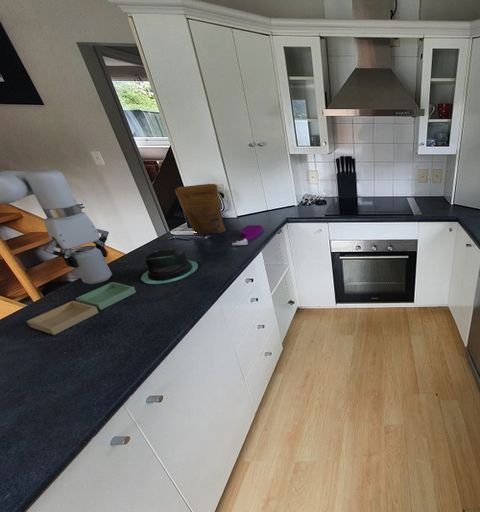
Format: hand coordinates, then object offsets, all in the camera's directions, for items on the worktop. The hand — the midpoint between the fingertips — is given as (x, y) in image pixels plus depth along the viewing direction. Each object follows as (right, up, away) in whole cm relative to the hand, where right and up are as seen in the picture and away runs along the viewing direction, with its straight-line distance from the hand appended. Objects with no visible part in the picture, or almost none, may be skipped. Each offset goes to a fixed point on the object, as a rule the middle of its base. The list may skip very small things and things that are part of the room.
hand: (89, 261), depth 93 cm
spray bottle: (+25, +12, +60) cm, 66 cm away
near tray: (-3, -19, -4) cm, 20 cm away
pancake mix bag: (0, +15, +64) cm, 66 cm away
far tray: (0, -14, +7) cm, 15 cm away
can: (0, -7, +3) cm, 7 cm away
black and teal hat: (+9, -5, +25) cm, 27 cm away
